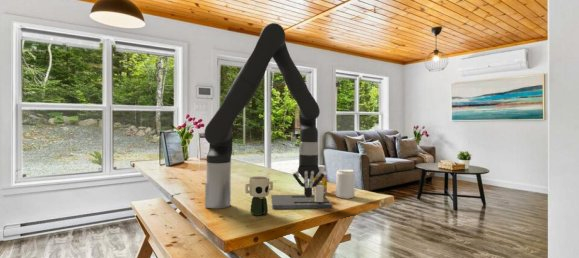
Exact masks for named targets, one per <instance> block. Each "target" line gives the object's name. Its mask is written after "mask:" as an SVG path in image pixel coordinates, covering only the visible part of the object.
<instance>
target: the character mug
mask: <svg viewBox="0 0 579 258" xmlns="http://www.w3.org/2000/svg"><path fill="white" fill-rule="evenodd" d="M244 186H245V187H244V188H245V191H244V192H245V194H249V196H251V197H252V198H251V203H250V213H251V214H252V215H256V216H258V215H259V216H260V215H262V214H263V215H266V214H268V212H269V211H268V210H269V209H268V208H269V207H268V200H267V197H268V196H269V194H270V191H273V189H274V188H273V187H274V182H273V181H270V177H269V176H263V175H260V176H259V175H257V176H251V177H249V183H246V184H245V185H244Z"/></svg>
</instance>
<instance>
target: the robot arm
mask: <svg viewBox="0 0 579 258" xmlns="http://www.w3.org/2000/svg"><path fill="white" fill-rule="evenodd" d="M272 59H273V61H274V63H275V64H276V66H277V68H278V69H279V71H280V74H281V76H282V79H283V80H284V81H283V82H284V83H285V85H286V87H287V89H288V91H289V93H290V95H291V97H292V98H293V100H294V101H295V103H296V104H297V105H298V108H299V113H298V115H299V126H300V127H299V128H300V130H299V133H300V134H299V147H298V155H299V156H298V167H297V171H295V172H293V173H292V176H293V178H294V179H295V181H297V183H298V184H299V186H300V187H302V188H303V190H304V194H303V195H305V196H306V197H307V198H308V197H310V196H312V195H313V187H316V186H317V185H318V184H319V182H320V181H321V180H322V178H323V177H324V174H323V173H321V172H320V171H319V168H318V165H319V130H318V128H317V119H318V117H319V116H320V113H321V112H320V107H319V105H318V103H317V101H316V99H315V98H314V97H313V95H312V93H311V92H310V91H309V88H308V86H307V84H306V81H305V79H304V77H303V76H302V74H301V72H300V70H299V69H298V68H297V66H296V64H295V62H294V61H293V59H292V56H291V55H290V52H289V50H288V46H287V44H286V32H285V30H284V28H283V26H282V25H281V24H280V23H276V22H271V23H269V24H267V25H265V26H264V27H263V28H262V30H261V32H260V34H259V37H258V39H257V42H256V44H255V46H254V48H253V50H252V51H251V53H250V55H249V57H248V58H247V59H246V61H245V62H244V64H243V65H242V67H241V68H240V71H239V72H238V73H237V75H236V76H235V79H234V80H233V81H232V83H231V85H230V87H229V89H228V91H227V93H226V95H225V97H224V98H223V101H222V102H221V104H220V106H219V108H218V109H217V111H216V112H215V114H214V115H213V116H212V118H211V119H210V120H209V122H208V124H207V125H206V126H205V129H204V138H205V140H206V142H207V143H208V144H209V147H208V148H209V149H208V153H207V154H206V182H205V185H204V187H205V188H204V191H205V192H204V194H205V195H204V199H205V200H204V201H205V202H204V208H205V209H206V208H209V209H225V208H229V207H230V206H231V202H232V200H231V193H232V191H231V189H232V188H231V183H232V182H231V181H232V178H231V177H232V171H231V168H232V156H233V155H232V154H233V143H234V142H233V141H234V140H233V138H234V137H233V135H234V134H233V128H232V126H234V125H233V124H234V123H235V121H236V119H237V117H239V115H240V113H241V112H242V111H243V110H244V109H245V108H246V107H247V105H248V104H249V103H250V102H251V100H252V99H253V98H254V95H255V94H256V92H257V90H258V88H259V87H260V85H261V83H262V80H263V78H264V76H265V73H266V70H267V68H268V65H269V64H270V62H271V60H272ZM317 174H318V177H317V179H316V180H315V181H314V182H313V179H314V178H315V177H316V175H317ZM300 176H301V178H303V182H302V181H301V178H300Z"/></svg>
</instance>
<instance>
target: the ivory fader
mask: <svg viewBox="0 0 579 258" xmlns="http://www.w3.org/2000/svg"><path fill="white" fill-rule="evenodd" d="M323 190H324V187H323V186H316V187H315V193H314V195H315V202H323V195H324V194H323Z"/></svg>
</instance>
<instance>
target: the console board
mask: <svg viewBox="0 0 579 258" xmlns="http://www.w3.org/2000/svg"><path fill="white" fill-rule="evenodd" d="M270 199H272V200H271V208H272V210H296V209H297V210H303V209H304V210H305V209H306V210H310V209H313V210H314V209H333V204H332V202H330V200H329V199H328V198H327V197H326V195H325V194H323V202H315V194H312V196H310V197H308V198H307V197H306V196H305V194H271V198H270Z"/></svg>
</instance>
